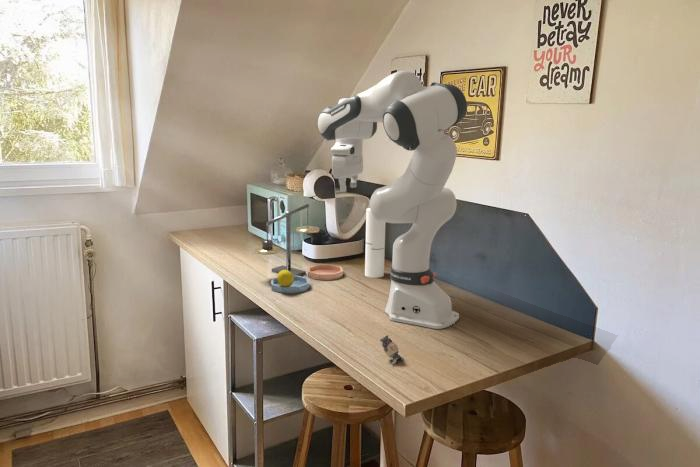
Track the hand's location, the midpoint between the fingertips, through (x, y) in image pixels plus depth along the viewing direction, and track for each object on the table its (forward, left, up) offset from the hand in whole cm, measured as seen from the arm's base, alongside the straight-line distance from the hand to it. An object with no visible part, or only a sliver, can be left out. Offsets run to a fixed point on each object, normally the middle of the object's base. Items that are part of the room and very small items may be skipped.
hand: (348, 189), depth 184 cm
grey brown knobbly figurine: (-43, +39, -34) cm, 68 cm away
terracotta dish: (+14, -5, -34) cm, 37 cm away
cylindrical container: (0, -17, -34) cm, 38 cm away
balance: (+26, +2, -34) cm, 43 cm away
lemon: (+14, +15, -32) cm, 38 cm away
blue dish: (+14, +14, -34) cm, 39 cm away
